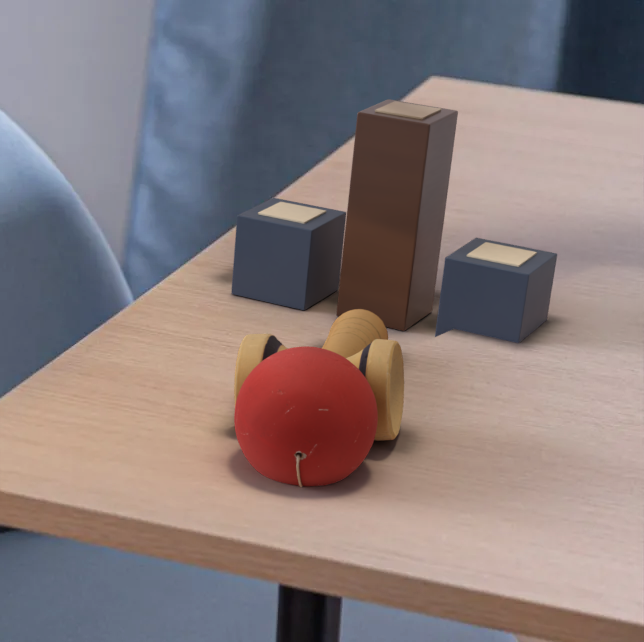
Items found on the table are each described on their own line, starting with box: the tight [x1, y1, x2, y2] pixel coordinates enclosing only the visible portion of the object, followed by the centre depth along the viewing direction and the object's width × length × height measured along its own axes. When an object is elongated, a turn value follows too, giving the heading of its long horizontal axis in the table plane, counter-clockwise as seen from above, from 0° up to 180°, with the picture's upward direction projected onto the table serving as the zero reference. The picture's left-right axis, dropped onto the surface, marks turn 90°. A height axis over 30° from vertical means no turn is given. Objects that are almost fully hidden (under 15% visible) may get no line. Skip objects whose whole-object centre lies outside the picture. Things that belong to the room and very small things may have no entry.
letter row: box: [230, 197, 558, 344], centre depth 95 cm, size 16×4×5 cm, turn 59°
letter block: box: [336, 98, 459, 332], centre depth 93 cm, size 4×4×11 cm
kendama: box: [233, 309, 405, 488], centre depth 80 cm, size 8×6×18 cm
